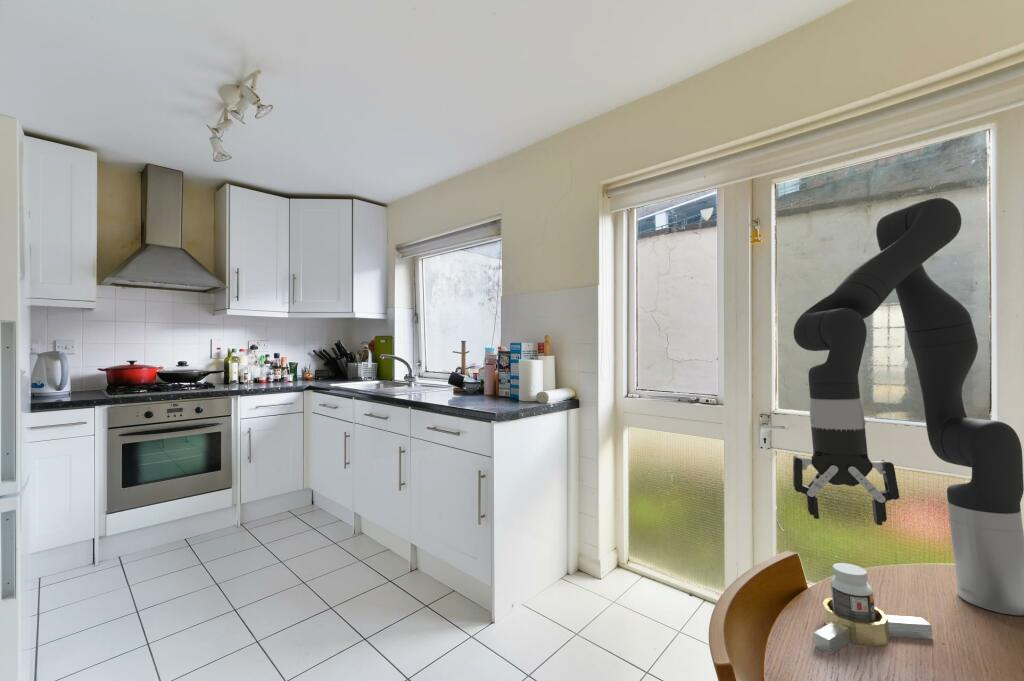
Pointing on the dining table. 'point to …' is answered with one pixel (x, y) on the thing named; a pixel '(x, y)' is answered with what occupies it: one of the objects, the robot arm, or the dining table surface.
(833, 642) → the stand
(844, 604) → the pill bottle
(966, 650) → the dining table surface
